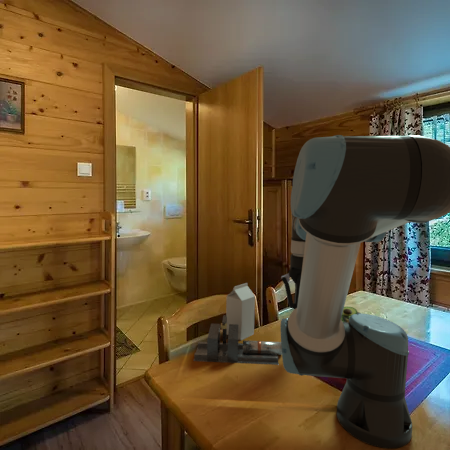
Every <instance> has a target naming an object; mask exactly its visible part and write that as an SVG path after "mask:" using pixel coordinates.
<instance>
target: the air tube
mask: <svg viewBox="0 0 450 450" xmlns="http://www.w3.org/2000/svg"><path fill="white" fill-rule="evenodd" d="M242 344H243V353H255V354H277V355H279V356H280V355H281V356H282V346H281V341H266V340H265V341H263V340H262V341H261V340H242Z"/></svg>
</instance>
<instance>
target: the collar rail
mask: <svg viewBox="0 0 450 450" xmlns="http://www.w3.org/2000/svg"><path fill="white" fill-rule="evenodd" d="M238 328H239V325H237V324H229V332H228V335H227V315H226V314H224V315H223V316H222V322H221V323H210V327H209V331H208V334H207V335H208V336H207V339H206V341H198V342H197V348H196V351H195V352H194V356H193V357H194V358H193V362H206V363H207V362H208V363H209V362H210V363H230V364H255V365H272V366H273V365H275V366H276V365H277V366H279V364H280V363H279V356H278V354H255V353H243V342H242V343H239V339H238ZM221 330H222V342H221Z"/></svg>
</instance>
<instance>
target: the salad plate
mask: <svg viewBox="0 0 450 450" xmlns="http://www.w3.org/2000/svg"><path fill="white" fill-rule="evenodd" d="M358 313H360V312H359V311H358V310H357V309H356V308H355V307H352V306H344V309H343V313H342V317H341V320H342V322H349V318H350V316H351V315H353V314H358Z"/></svg>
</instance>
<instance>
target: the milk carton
mask: <svg viewBox="0 0 450 450" xmlns="http://www.w3.org/2000/svg"><path fill="white" fill-rule="evenodd" d="M255 301H256V296H255V294H254V293H253V291H252V289H250V287H249V286H248V282H245V283H242V284H238V285H235V286H233V289H232V291H231V292H230V293H228V294H227V295H226V305H225V307H226V310H225V311H226V312H225V313H226V314H225V315H227V336H228V332H229V324H237V325H239V328H238V341H244V340H246V339H247V338H249V337H251V336H253V335H254V334H255V309H256V308H255V307H256V305H255V303H256V302H255Z"/></svg>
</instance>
